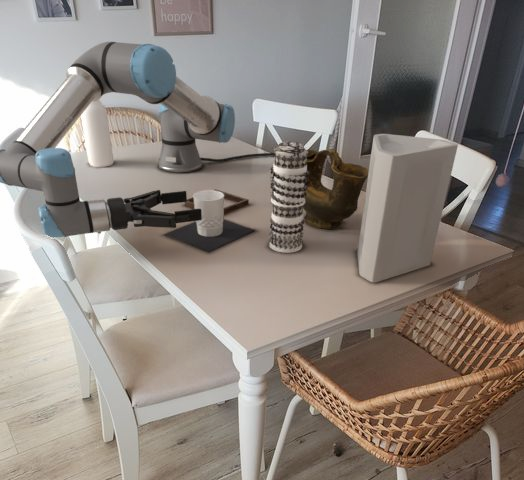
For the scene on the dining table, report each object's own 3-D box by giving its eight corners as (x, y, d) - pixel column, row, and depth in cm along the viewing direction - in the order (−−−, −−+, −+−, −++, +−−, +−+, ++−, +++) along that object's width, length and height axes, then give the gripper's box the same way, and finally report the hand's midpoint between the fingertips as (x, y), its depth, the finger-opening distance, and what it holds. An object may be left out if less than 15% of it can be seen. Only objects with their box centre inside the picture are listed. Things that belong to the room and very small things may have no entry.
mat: (211, 216, 148) (211, 215, 147) (254, 231, 140) (254, 230, 139) (164, 235, 136) (164, 234, 136) (208, 252, 128) (208, 251, 128)
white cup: (201, 240, 133) (200, 202, 127) (190, 229, 139) (188, 192, 133) (229, 235, 136) (229, 197, 130) (217, 224, 142) (216, 188, 136)
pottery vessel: (278, 213, 151) (281, 142, 139) (305, 205, 157) (310, 136, 145) (341, 241, 136) (351, 164, 124) (368, 231, 141) (380, 156, 130)
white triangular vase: (388, 242, 135) (408, 129, 119) (431, 264, 125) (459, 144, 109) (332, 258, 127) (345, 139, 111) (372, 283, 117) (394, 156, 100)
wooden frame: (215, 194, 163) (215, 189, 162) (248, 204, 156) (248, 199, 155) (184, 205, 154) (184, 200, 153) (218, 217, 147) (217, 211, 146)
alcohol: (83, 164, 185) (67, 70, 167) (102, 158, 191) (88, 67, 173) (100, 169, 181) (85, 73, 163) (119, 163, 187) (106, 70, 169)
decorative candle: (292, 256, 127) (299, 152, 113) (261, 247, 131) (263, 145, 116) (309, 244, 134) (318, 143, 119) (279, 235, 137) (283, 137, 123)
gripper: (103, 211, 136) (181, 202, 143) (119, 249, 118) (208, 237, 125) (98, 183, 132) (179, 175, 139) (115, 218, 113) (207, 207, 120)
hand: (193, 204), depth 132 cm, fingers open, 13 cm apart
